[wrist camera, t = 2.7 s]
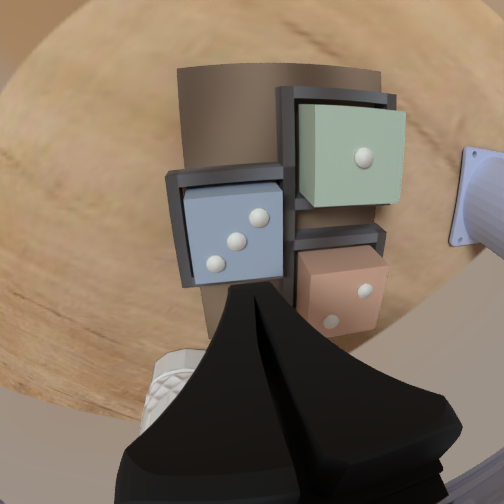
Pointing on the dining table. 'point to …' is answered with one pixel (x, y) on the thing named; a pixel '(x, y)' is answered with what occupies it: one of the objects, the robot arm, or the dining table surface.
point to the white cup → (168, 382)
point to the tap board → (266, 157)
